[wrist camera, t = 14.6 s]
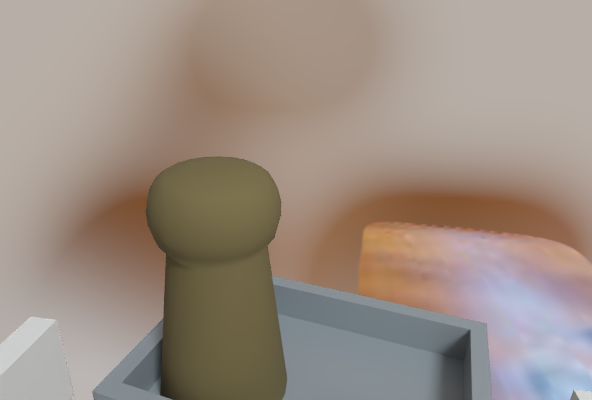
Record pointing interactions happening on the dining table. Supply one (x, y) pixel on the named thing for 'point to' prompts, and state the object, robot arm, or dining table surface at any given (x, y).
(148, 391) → the trough
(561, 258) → the dining table surface
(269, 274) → the cork
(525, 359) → the dining table surface
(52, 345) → the robot arm
